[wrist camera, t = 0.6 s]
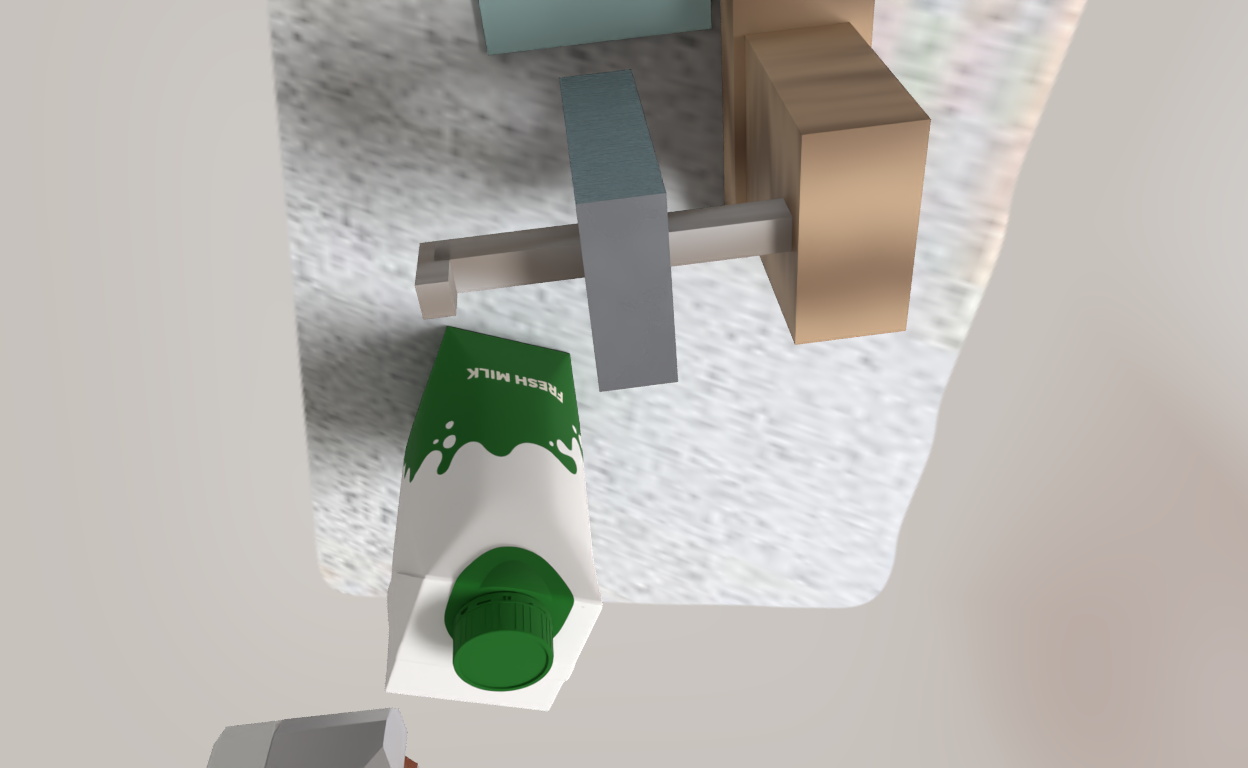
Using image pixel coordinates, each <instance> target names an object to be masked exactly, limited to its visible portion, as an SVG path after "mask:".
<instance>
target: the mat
mask: <svg viewBox="0 0 1248 768" xmlns="http://www.w3.org/2000/svg"><path fill="white" fill-rule="evenodd" d="M479 5H480V11H481V17H482V23H483V29H484V34H485V40H486V46H487V52H488V55H494V54H503V53H511V52H519V51H528V50H536V49H545V48H553V47H561V46H570V45H578V44H587V43H595V42H603V41H612V40H620V39H629V38H637V37H646V36H654V35H662V34H671V33H679V32H688V31H696V30H704V29H711V0H479Z"/></svg>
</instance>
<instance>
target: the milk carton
mask: <svg viewBox="0 0 1248 768" xmlns="http://www.w3.org/2000/svg"><path fill="white" fill-rule="evenodd" d="M387 603H388V621H389V644H388V659H387V673H386V683H385V692H389V693H398V694H406V695H415V696H423V697H432V698H440V699H449V700H458V701H466V702H475V703H483V704H492V705H501V706H509V707H518V708H526V709H534V710H543V711H548V710H549V709H550V707H551V705H552V703H553V701H554V699H555V697H556V696H557V693H558V692H559V689H560V688H561V686H562V684H563V682H564V681H567V680H568V678H569V677H570V675H571V673H572V671H573V669H574V666H575V662H576V660H577V658H578V656H579V654H580V652H581V650H582V648H583V646H584V644H585V642H586V640H587V638H588V636H589V634H590V632H591V630H592V628H593V626H594V624H595V622H596V620H597V618H598V616H599V613H600V611H601V609H602V607H603V605H602V603H603V602H602V598H601V593H600V589H599V585H598V580H597V576H596V571H595V566H594V560H593V552H592V542H591V531H590V522H589V512H588V502H587V492H586V482H585V472H584V462H583V452H582V443H581V433H580V423H579V415H578V408H577V401H576V394H575V388H574V380H573V373H572V366H571V359H570V354H569V353H564V352H560V351H555V350H551V349H547V348H542V347H538V346H533V345H529V344H524V343H520V342H516V341H511V340H507V339H502V338H498V337H493V336H489V335H484V334H480V333H476V332H471V331H467V330H462V329H458V328H453V327H449V326H447V328H446V331H445V334H444V337H443V340H442V342H441V345H440V348H439V351H438V354H437V357H436V360H435V362H434V365H433V368H432V371H431V374H430V376H429V379H428V382H427V385H426V388H425V390H424V393H423V396H422V399H421V402H420V405H419V408H418V411H417V414H416V417H415V420H414V423H413V426H412V429H411V432H410V436H409V439H408V443H407V446H406V451H405V456H404V462H403V471H402V480H401V488H400V497H399V506H398V515H397V525H396V534H395V543H394V552H393V564H392V579H391V582H390V585H389V588H388V597H387Z"/></svg>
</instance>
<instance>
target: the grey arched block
mask: <svg viewBox="0 0 1248 768" xmlns="http://www.w3.org/2000/svg"><path fill="white" fill-rule="evenodd" d="M559 79H560V87H561V95H562V103H563V110H564V118H565V126H566V134H567V141H568V149H569V157H570V165H571V172H572V180H573V188H574V196H575V203H576V212H577V220H578V227H579V235H580V242H581V250H582V258H583V266H584V274H585V282H586V290H587V298H588V306H589V313H590V321H591V329H592V337H593V344H594V352H595V360H596V368H597V375H598V383H599V391H600V392H602V391H610V390H618V389H626V388H633V387H641V386H649V385H657V384H665V383H672V382H678V374H677V358H676V342H675V326H674V310H673V294H672V278H671V262H670V246H669V230H668V214H667V198H666V191H665V187H664V184H663V180H662V177H661V173H660V170H659V166H658V163H657V159H656V156H655V152H654V149H653V145H652V142H651V138H650V134H649V131H648V127H647V124H646V120H645V117H644V113H643V110H642V106H641V103H640V99H639V96H638V92H637V89H636V85H635V82H634V78H633V75H632V71H631V69H629V70H621V71H612V72H604V73H596V74H587V75H579V76H571V77H562V78H559Z"/></svg>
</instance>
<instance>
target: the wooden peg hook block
mask: <svg viewBox="0 0 1248 768" xmlns="http://www.w3.org/2000/svg"><path fill="white" fill-rule="evenodd" d="M720 2H721V49H722V96H723V143H724V191H725V205H724V206H716V207H708V208H700V209H692V210H684V211H676V212H668V213H667V214H668V230H669V246H670V262H671V266H679V265H687V264H695V263H703V262H711V261H719V260H727V259H735V258H743V257H751V256H760V258H761V261H762V263H763V266H764V268H765V271H766V273H767V276H768V278H769V281H770V283H771V286H772V288H773V291H774V293H775V296H776V298H777V301H778V303H779V306H780V308H781V311H782V313H783V316H784V318H785V321H786V323H787V326H788V328H789V331H790V333H791V336H792V338H793V341H794V343H795V345H797V344H805V343H813V342H821V341H829V340H836V339H844V338H852V337H860V336H868V335H876V334H883V333H891V332H899V331H906V325H907V316H908V308H909V299H910V291H911V282H912V274H913V266H914V257H915V249H916V240H917V232H918V223H919V215H920V207H921V198H922V190H923V181H924V173H925V164H926V156H927V148H928V139H929V131H930V122H931V119H930V118H929V116H928V115H927V114H926V113H925V112H924V110H923V109H922V108H921V107H920V106H919V104H918V103H917V102H916V101H915V100H914V98H913V97H912V96H911V95H910V94H909V92H908V91H907V90H906V89H905V88H904V86H903V85H902V84H901V83H900V82H899V80H898V79H897V78H896V77H895V76H894V74H893V73H892V72H891V71H890V70H889V68H888V67H887V66H886V65H885V64H884V62H883V61H882V60H881V59H880V58H879V56H878V55H877V54H876V53H875V52H874V50H873V49H872V48H871V44H872V31H873V17H874V4H875V0H720ZM583 277H585V274H584V266H583V258H582V250H581V242H580V235H579V227H578V224H571V225H562V226H554V227H546V228H538V229H530V230H522V231H514V232H506V233H498V234H490V235H482V236H474V237H465V238H457V239H449V240H441V241H433V242H425V243H420V247H419V255H418V263H417V272H416V280H415V288H416V292H417V296H418V300H419V304H420V308H421V312H422V315H423V319H432V318H440V317H448V316H456V307H457V293H464V292H472V291H480V290H488V289H496V288H504V287H511V286H519V285H527V284H535V283H543V282H551V281H559V280H567V279H575V278H583Z"/></svg>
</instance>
